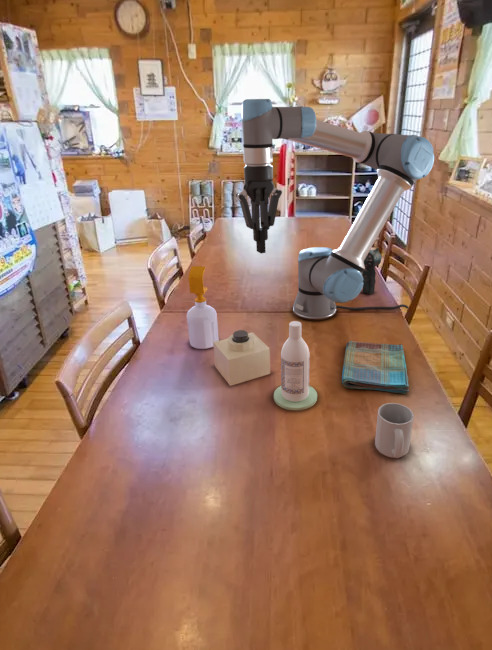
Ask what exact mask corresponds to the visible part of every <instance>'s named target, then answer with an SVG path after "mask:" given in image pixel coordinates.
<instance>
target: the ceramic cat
mask: <svg viewBox="0 0 492 650" xmlns="http://www.w3.org/2000/svg"><path fill="white" fill-rule="evenodd" d="M381 263H382V254H381V253H380V250H379V247H377V248H375V249H370V251H369V253H368V254H367V256H366V258H365V260H364V266H365V270H364V271H363V273H362V277H363V288H362V294H366V295H372V294H373V293H375V288H376V283H377V281H376V275H377V272H376V268H375V267H378V266H379V265H380V264H381Z"/></svg>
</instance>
